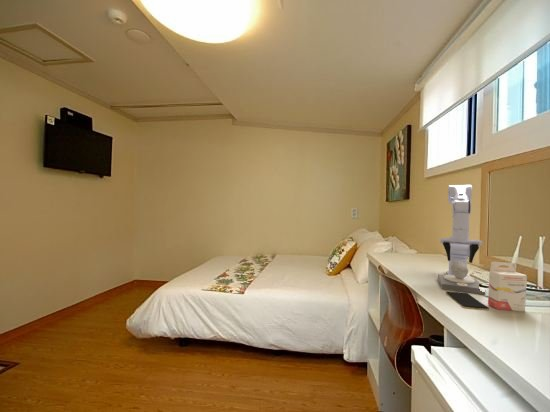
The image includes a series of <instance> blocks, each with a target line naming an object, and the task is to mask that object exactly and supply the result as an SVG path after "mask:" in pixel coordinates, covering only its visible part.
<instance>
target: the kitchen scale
mask: <svg viewBox="0 0 550 412" xmlns="http://www.w3.org/2000/svg"><path fill="white" fill-rule="evenodd" d="M437 280H438V282H439V284H440V287H441V289H442V290H449V291H454V292H461V293H473V294H479V295H486V291H485V292H482V291H480V289H479V286H478V285H479V283H480V282H479V280H478V279H477V278H474V277H470V276H468V277H465V278H462V279H459V278H456V277H455V276H454V275H448V274H437Z"/></svg>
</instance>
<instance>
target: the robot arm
mask: <svg viewBox="0 0 550 412" xmlns="http://www.w3.org/2000/svg"><path fill="white" fill-rule="evenodd" d="M472 196H473V185H472V184H452V185H451V184H449V185H448V187H447V201H448V204H450V205H451V213H452V233H451V234H452V235H451V236H450V237H448V238H447V237H440V238H439V244H442V245H443V248H444V250H445V254H446V258H447V261H448V270H446V275H453V273H452V270H451V265H452V264H453V263H454V262H456V261H460V262H463V264H465V265H466V267H467V268H468V261H469V263H470V264H472V263H473V261H474V257H475V255H476V253H478V251H479V249H480V247H482V246H483V241H482V240H478V239H469V238H470V237H469V236H470V215H471V213H472ZM466 277H469V276H468V274H467V276H466Z"/></svg>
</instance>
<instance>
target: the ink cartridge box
mask: <svg viewBox="0 0 550 412" xmlns="http://www.w3.org/2000/svg"><path fill="white" fill-rule="evenodd" d="M500 266H505V267H500ZM489 269H490V270H489V275H488V278H489V279H488V295H487V296H488V297H487V299H488V300H487V304H488V305H489V306H491V307H493V308H494V309H496V310H502V311H515V312H516V311H517V312H526V301H527V300H526V299H527V298H526V297H527V284H528V283H527V281H528V279H527V278H528V276H527V275H526V274H523V273H520V272H517V262H505V261H504V262H501V261H499V262H498V261H491V263H490V268H489Z"/></svg>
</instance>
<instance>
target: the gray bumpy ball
mask: <svg viewBox="0 0 550 412" xmlns="http://www.w3.org/2000/svg"><path fill="white" fill-rule="evenodd" d="M451 270H452V273H453V275H454V276H455V277H456V278H459V279H462V278H465V277H466V276H467V275H468V273H469V269H468V266H467V267H466V265H465V264H463V262H460V261H456V262H454V263H453V264H452V265H451Z"/></svg>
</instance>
